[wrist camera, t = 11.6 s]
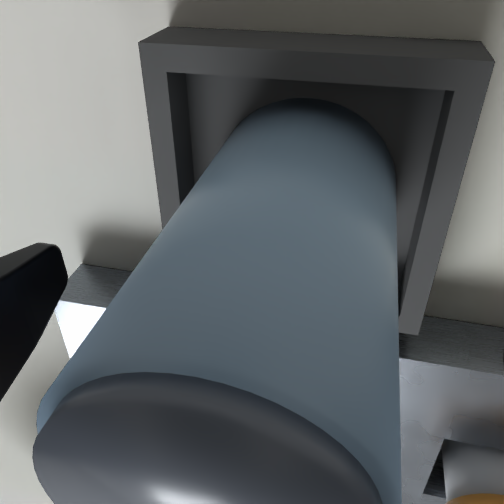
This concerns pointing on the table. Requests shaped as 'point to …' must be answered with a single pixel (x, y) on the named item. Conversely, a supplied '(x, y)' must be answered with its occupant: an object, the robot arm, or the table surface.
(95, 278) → the housing
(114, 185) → the table surface
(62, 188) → the table surface
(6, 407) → the table surface
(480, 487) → the plunger
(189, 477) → the cartridge
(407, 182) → the tray
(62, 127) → the table surface
